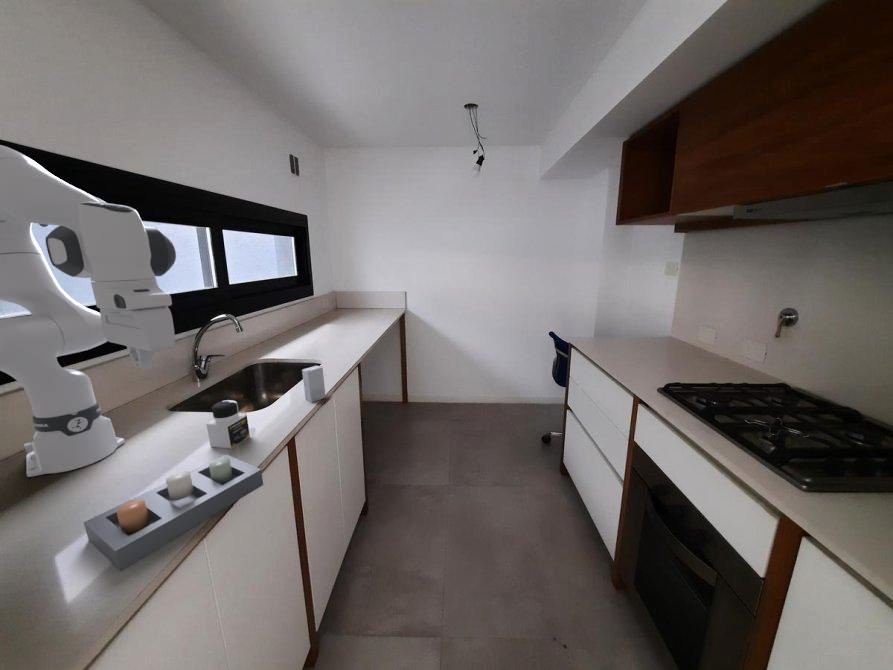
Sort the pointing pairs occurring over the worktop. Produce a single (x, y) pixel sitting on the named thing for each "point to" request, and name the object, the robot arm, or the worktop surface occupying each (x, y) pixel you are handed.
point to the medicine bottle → (227, 425)
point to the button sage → (221, 470)
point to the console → (170, 513)
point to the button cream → (179, 485)
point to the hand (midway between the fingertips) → (144, 368)
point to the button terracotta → (133, 516)
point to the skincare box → (313, 383)
